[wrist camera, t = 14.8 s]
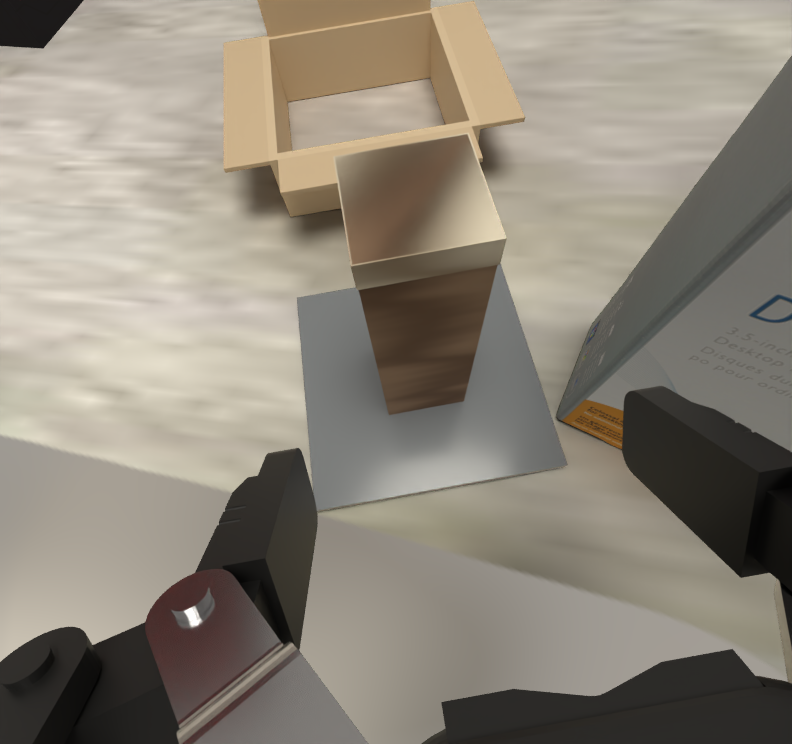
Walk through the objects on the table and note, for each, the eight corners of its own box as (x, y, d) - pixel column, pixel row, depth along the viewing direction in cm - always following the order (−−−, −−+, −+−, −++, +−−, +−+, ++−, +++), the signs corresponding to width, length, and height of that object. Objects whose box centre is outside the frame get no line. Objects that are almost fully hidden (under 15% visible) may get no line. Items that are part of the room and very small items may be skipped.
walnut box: (447, 334, 27) (468, 132, 14) (464, 401, 25) (506, 238, 12) (376, 347, 27) (333, 156, 14) (388, 416, 25) (350, 266, 12)
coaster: (498, 267, 30) (499, 262, 29) (564, 467, 24) (567, 465, 23) (299, 302, 29) (296, 297, 29) (317, 512, 24) (315, 510, 23)
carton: (467, 67, 39) (481, -86, 30) (522, 207, 32) (561, 64, 23) (247, 104, 38) (192, -38, 29) (252, 254, 31) (182, 129, 22)
